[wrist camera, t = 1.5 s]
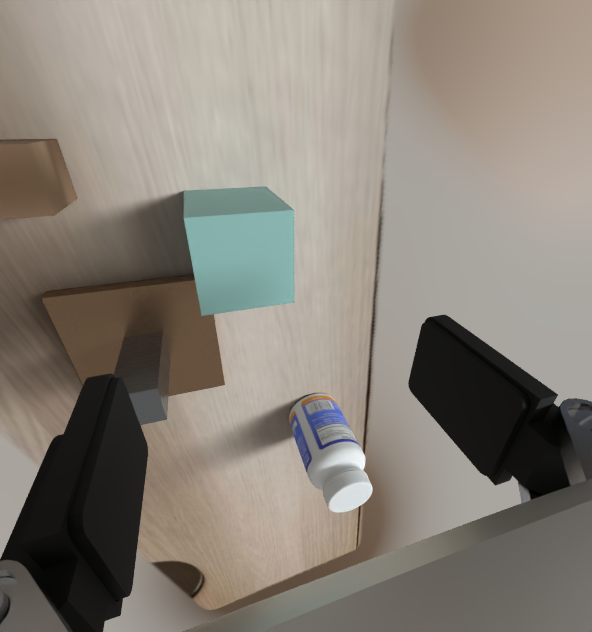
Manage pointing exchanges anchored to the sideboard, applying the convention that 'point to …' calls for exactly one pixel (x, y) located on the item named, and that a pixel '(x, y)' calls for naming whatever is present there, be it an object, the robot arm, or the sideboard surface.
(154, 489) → the sideboard surface
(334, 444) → the pill bottle
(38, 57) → the sideboard surface
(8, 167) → the tan cardboard cube
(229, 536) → the sideboard surface
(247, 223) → the teal rectangular block
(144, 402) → the brown square base
